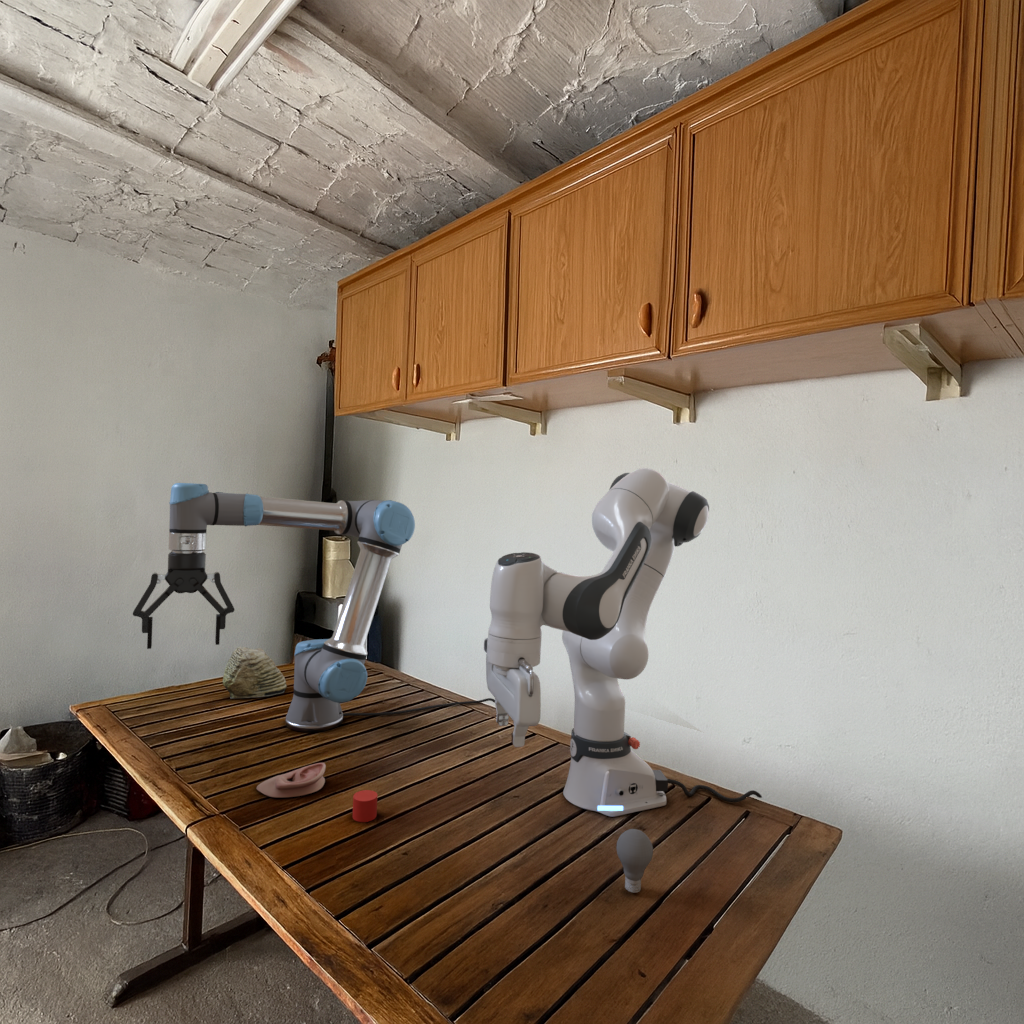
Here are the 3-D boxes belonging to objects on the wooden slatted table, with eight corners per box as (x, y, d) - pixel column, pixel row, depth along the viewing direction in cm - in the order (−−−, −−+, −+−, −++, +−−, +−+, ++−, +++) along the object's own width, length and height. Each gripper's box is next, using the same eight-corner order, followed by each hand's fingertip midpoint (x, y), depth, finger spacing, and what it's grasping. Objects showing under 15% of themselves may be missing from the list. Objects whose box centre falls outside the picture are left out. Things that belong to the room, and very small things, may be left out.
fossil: (218, 695, 195) (220, 647, 195) (278, 685, 208) (279, 640, 207) (228, 703, 189) (230, 653, 188) (289, 692, 201) (290, 645, 201)
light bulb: (610, 879, 108) (613, 822, 108) (644, 879, 109) (647, 822, 109) (619, 902, 102) (622, 840, 102) (655, 901, 103) (658, 840, 103)
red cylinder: (349, 821, 124) (350, 800, 124) (355, 809, 129) (356, 789, 129) (373, 822, 124) (374, 801, 124) (378, 810, 129) (379, 790, 129)
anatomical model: (248, 775, 133) (279, 754, 144) (247, 794, 133) (278, 771, 144) (306, 783, 130) (332, 761, 142) (305, 802, 130) (332, 779, 142)
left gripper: (120, 553, 133) (117, 653, 134) (248, 553, 145) (245, 645, 145) (123, 549, 140) (120, 645, 140) (245, 550, 151) (242, 638, 152)
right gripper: (553, 667, 95) (548, 758, 96) (515, 637, 115) (511, 713, 115) (513, 668, 94) (508, 761, 94) (481, 638, 113) (477, 714, 114)
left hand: (184, 645), depth 143 cm, fingers open, 13 cm apart
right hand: (509, 734), depth 105 cm, fingers open, 8 cm apart
